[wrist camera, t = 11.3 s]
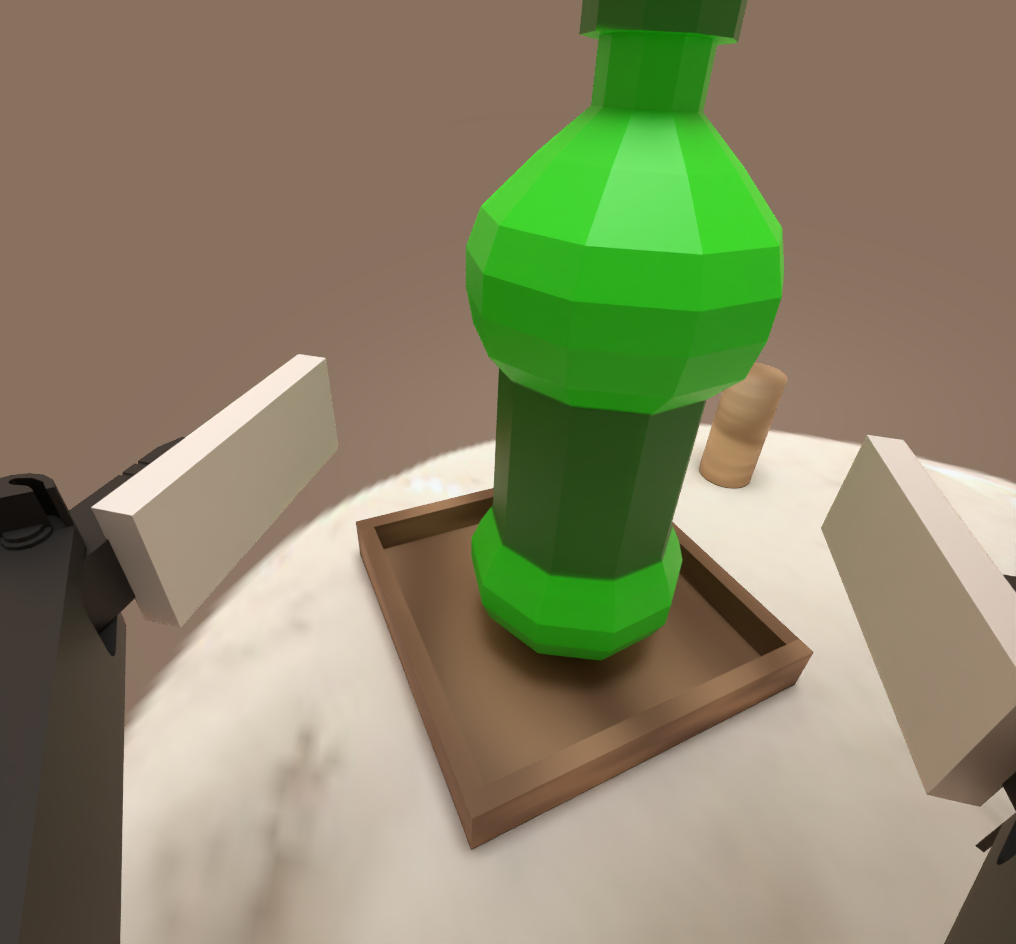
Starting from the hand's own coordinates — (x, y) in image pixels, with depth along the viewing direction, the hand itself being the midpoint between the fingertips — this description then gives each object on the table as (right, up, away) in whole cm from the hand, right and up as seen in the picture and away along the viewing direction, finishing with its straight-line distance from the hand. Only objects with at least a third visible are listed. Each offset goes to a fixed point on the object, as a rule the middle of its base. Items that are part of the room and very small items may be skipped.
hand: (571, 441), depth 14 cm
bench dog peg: (+14, -1, +27) cm, 30 cm away
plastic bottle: (+1, -8, +15) cm, 17 cm away
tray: (+1, -8, +15) cm, 17 cm away
